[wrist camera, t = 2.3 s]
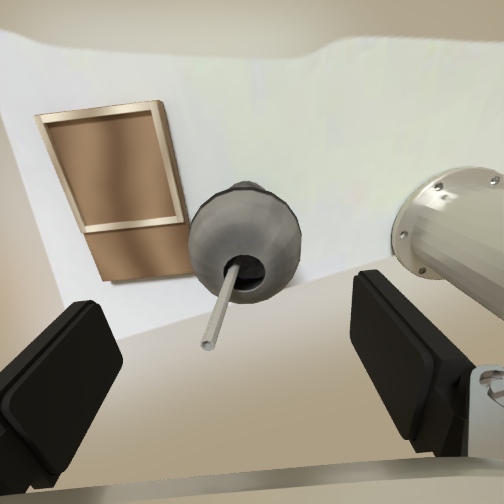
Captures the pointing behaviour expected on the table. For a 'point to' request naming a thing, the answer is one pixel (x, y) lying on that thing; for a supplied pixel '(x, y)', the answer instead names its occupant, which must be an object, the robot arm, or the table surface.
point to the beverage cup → (243, 248)
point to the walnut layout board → (122, 187)
